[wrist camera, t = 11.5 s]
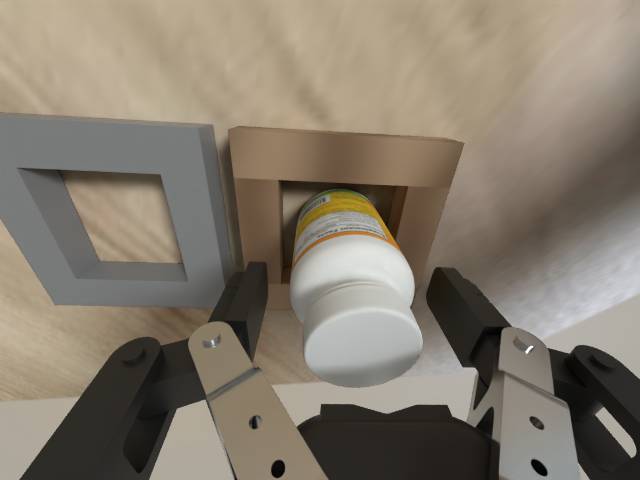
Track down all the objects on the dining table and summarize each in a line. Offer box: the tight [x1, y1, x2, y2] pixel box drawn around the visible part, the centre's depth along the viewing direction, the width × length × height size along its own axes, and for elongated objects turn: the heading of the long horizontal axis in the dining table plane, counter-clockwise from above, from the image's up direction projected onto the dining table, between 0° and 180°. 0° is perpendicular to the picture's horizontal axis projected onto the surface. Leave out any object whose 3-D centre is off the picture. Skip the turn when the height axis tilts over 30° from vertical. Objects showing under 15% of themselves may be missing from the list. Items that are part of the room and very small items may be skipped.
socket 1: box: [0, 112, 234, 308], centre depth 15 cm, size 12×12×2 cm
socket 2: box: [228, 126, 464, 310], centre depth 16 cm, size 12×12×2 cm
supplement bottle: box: [290, 188, 423, 388], centre depth 12 cm, size 5×5×10 cm
